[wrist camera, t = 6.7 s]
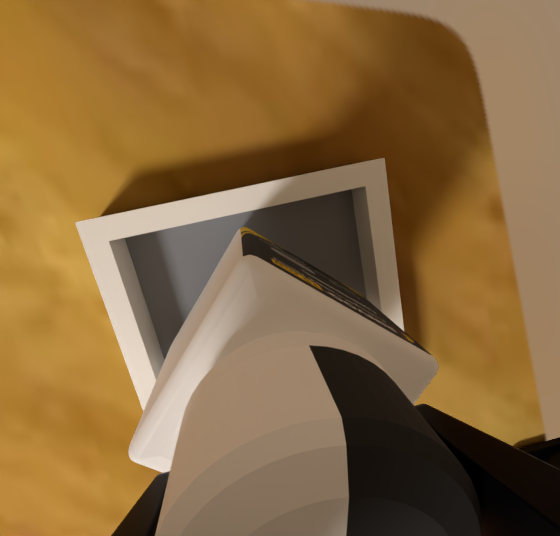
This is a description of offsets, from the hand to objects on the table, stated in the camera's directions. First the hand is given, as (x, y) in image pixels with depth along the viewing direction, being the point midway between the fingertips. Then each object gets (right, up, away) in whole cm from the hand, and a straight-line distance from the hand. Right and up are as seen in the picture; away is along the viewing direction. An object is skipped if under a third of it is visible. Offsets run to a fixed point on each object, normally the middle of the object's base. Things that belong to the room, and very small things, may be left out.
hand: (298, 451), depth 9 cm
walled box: (-1, +2, +9) cm, 10 cm away
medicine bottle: (-1, +2, +8) cm, 9 cm away
